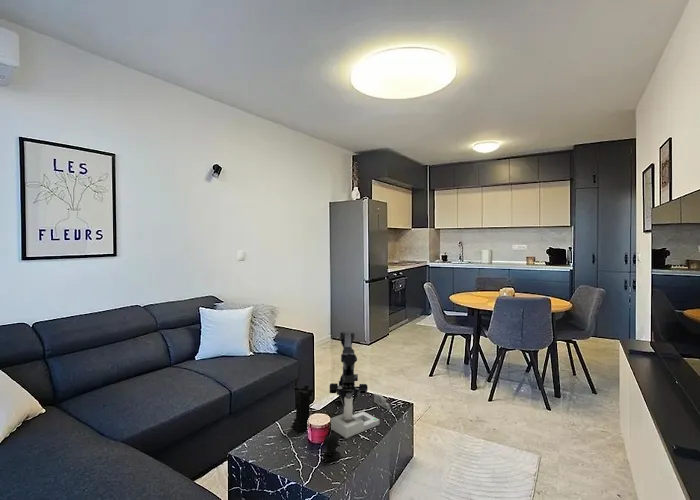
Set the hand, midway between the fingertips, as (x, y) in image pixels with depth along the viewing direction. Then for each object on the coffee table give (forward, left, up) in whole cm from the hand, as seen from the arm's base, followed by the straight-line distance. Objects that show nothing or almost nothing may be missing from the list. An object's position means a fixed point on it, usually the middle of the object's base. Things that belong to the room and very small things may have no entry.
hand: (348, 405), depth 187 cm
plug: (-1, +1, -7) cm, 7 cm away
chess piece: (-15, -16, -13) cm, 25 cm away
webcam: (+13, -20, -13) cm, 27 cm away
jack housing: (-1, +6, -12) cm, 14 cm away
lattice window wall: (-10, +34, -13) cm, 38 cm away
